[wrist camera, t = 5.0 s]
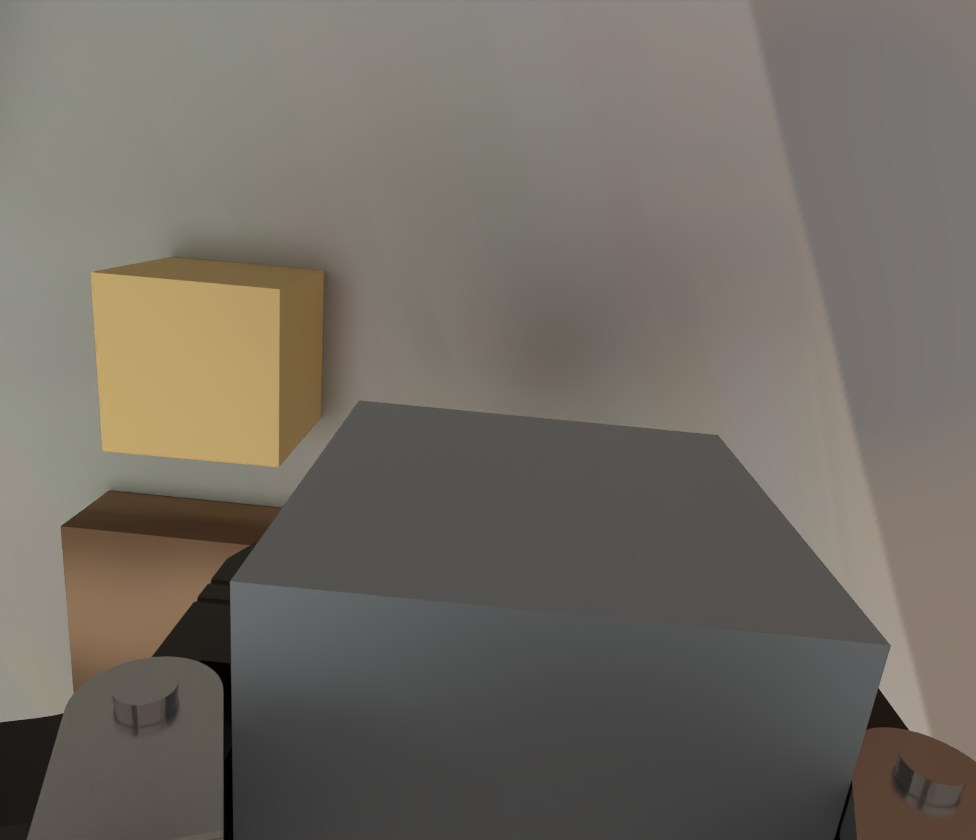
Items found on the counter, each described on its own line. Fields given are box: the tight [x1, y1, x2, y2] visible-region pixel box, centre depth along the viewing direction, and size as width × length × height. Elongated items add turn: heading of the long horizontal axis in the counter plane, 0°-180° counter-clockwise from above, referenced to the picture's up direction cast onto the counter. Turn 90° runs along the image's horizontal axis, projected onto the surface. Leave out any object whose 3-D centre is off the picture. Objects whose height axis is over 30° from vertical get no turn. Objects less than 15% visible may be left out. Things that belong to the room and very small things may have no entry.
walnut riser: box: [61, 491, 282, 693], centre depth 27 cm, size 12×12×3 cm
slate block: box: [230, 401, 891, 840], centre depth 9 cm, size 5×5×5 cm
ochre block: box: [91, 257, 324, 467], centre depth 23 cm, size 5×5×5 cm
